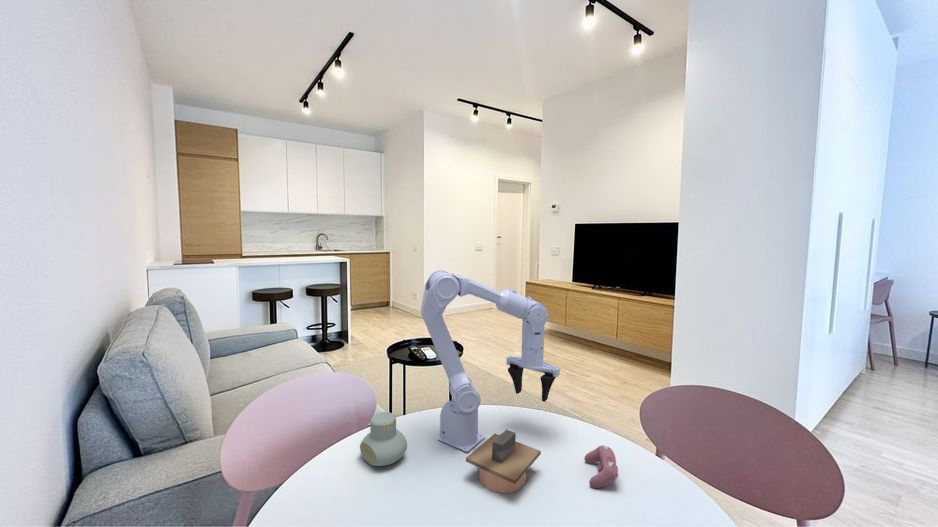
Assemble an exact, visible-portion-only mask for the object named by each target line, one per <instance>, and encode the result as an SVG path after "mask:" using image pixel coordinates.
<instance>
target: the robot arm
mask: <svg viewBox="0 0 938 527" xmlns="http://www.w3.org/2000/svg"><path fill="white" fill-rule="evenodd" d="M423 290H424V291H423V297H422V302H421V307H420V313H421V316H422V319H423V322H424V324H425V327H426V329H427V331H428V333H429V336H430V338H431V341H432V344H433V345H434V348H435V350H436V353H437V355H438V357H439V359H440V363H441V365H442V368H443V370H444V372H445V375H446V376H447V379H448V391H449V393H450V395H451V397H452V399H451V400H448V401H447V402H445V403H444V404H443V405H442V407H441V410H440V415H439V419H440V420H439V436H438V437H437V440H438V441H440V442H443V443H445V444H447V445H449V446H452V447H453V448H456V449H458V450H460V451H463V452H465V453H469V452H470V451H471V450H472V449H474V447H476V446H477V445H478V444H479V443H481V442H482V441H483V440H484V439H485V437H486V436H485V435H483V434H480V433H479V407H480V405H481V395H480V393H479V391H477V390H476V387H475V386H474V384H473V382H472V380H471V379H470V377H469V376H468V375H467V373H466V370H465V368H464V366H463V363H462V361H461V359H460V355H459V354H458V351H457V349H456V346H455V344H454V340H453V339H452V336H451V334H450V331H449V329H448V327H447V324H446V322H445V319H444V316H443V314H444V312H445V310H446V309H447V307H448V306H449V305H450V303H452V301H454V300H455V299H456V297H458V296H459V297H460V298H461V297H465V296H467V295H471V296H474V297H476V298H480V299H482V300H485V301H488V302H490V303H494V305H495V306H496V308H497V310H498V311H500V312H502V313H505V314H506V315H509V316H513V317H515V318H518V319H521V320H522V325H521V326H522V328H521V356H519V357H518V356H512V355H509V356H508V357H506V363H505V364H506V365H507V366H509V367H508V368H507V372H508V373H509V375H510V378H511V380H512V382H513V383H512V384H513V386H514V387H513V388H514V391H515V394H517V395H518V394H519V393H521V392H522V389H523V374H524V373H523V372H524V369H526V370H530V371H534V372H538V373H543V375H541V376H540V382H541V383H540V384H541V402H546V401H547V400H548V398H549V395H550V391H551V388H552V385H553V384H554V381H556V380H555V379H556V378H558V377H559V376H560V374H561V373H560V370H561V368H560V367H558V366H555V365H553V364H549V363H547V362H545V361H544V355H545V354H544V353H545V352H544V351H545V350H544V347H545V345H544V344H545V325H546V323H547V322H548V321H549V316H550V314H549V313H548V309H547V307H546V306H545V305H544V304H542V303H540V302H538V301H536V300H533V298H532V297H531V296H527V297H525V296H523V295H522V294H519V293H517V292H518V291H517V290H515V289H513V288H510V290H509V289H504V290H500V291H498V290H495V289H494V288H491V287H490V286H487V285H485V284H483V283H480V282H478V281H476V280H474V279H471V278H469V277H467V276H464V275H459V274H456V273H450V272H447V271H446V270H443V269H441V270H439V269H438V270H435V271H433V272H432V273H431V274H430V275H429V277H428V279H427V280H426V282H425V283H424V289H423Z"/></svg>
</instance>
